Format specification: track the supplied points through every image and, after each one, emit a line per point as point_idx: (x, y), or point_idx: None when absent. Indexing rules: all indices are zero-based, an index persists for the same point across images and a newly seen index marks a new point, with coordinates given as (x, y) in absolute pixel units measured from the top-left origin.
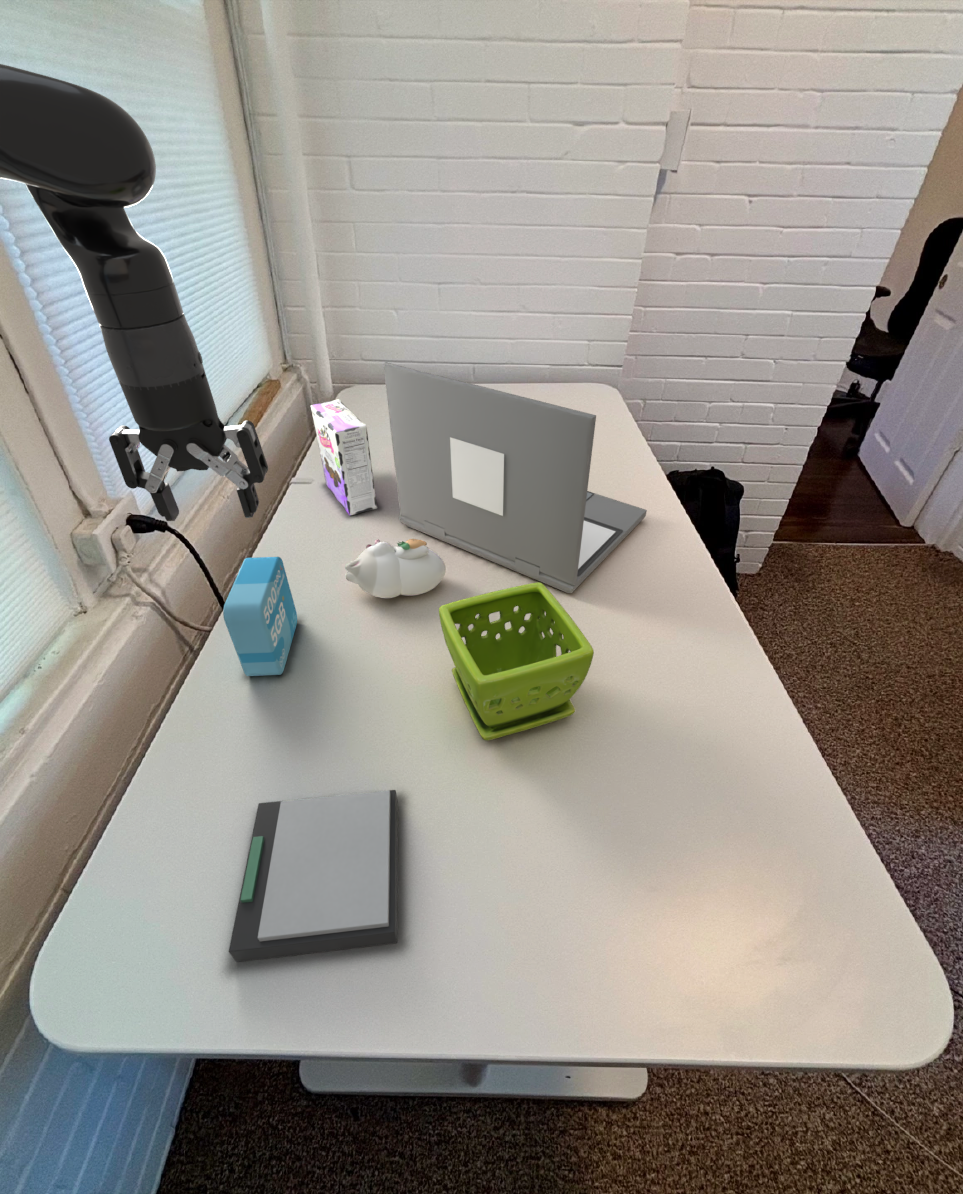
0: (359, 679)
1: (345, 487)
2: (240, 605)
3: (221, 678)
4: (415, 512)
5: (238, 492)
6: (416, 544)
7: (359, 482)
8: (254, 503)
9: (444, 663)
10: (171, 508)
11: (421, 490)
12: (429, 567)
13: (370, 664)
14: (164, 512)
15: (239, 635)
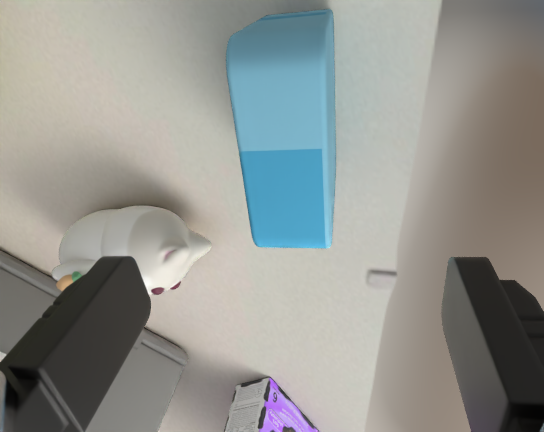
0: (131, 20)
1: (260, 422)
2: (279, 63)
3: (386, 14)
4: (148, 364)
5: (44, 354)
6: (61, 281)
7: (241, 428)
8: (52, 305)
9: (16, 63)
10: (461, 318)
11: (112, 395)
12: (64, 245)
13: (127, 59)
14: (494, 290)
15: (304, 22)
